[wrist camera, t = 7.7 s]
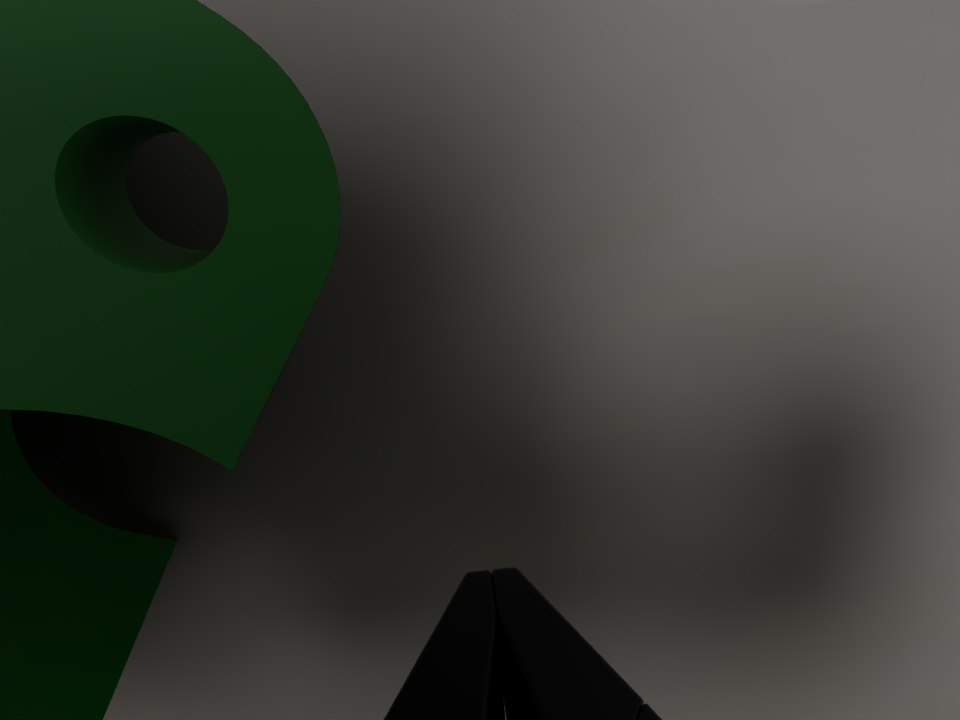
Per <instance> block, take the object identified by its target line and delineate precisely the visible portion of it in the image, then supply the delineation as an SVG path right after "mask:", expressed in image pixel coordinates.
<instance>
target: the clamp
mask: <svg viewBox="0 0 960 720" xmlns="http://www.w3.org/2000/svg"><path fill="white" fill-rule="evenodd" d="M179 131H180V132H182V133H184V134H185V135H186V136H188V137H189V138H190V139H192V140H193V141H194V142H195V143H196V144H198V145H199V146H200V147H201V148H202V149H203V150H204V152H205V153H206V154H207V155H208V156H209V158H210V159H211V160H212V162H213V163H214V165H215V166H216V168H217V169H218V171H219V173H220V175H221V177H222V180H223V182H224V185H225V188H226V192H227V197H228V207H229V212H228V221H227V226H226V229H225V232H224V234H223V237H222V239H221V240H220V242H219V244H218V245H217V247H216V248H213V249H207V250H193V249H186V248H182V247H178V246H175V245H173V244H170V243H168V242H166V241H164V240H163V239H161V238H159V237H158V236H156V235H155V234H154V233H153V232H151V231H150V230H149V229H148V228H147V227H146V226H145V225H144V224H143V223H142V222H141V220H140V219H139V218H138V216H137V215H136V213H135V211H134V210H133V208H132V206H131V203H130V201H129V198H128V194H127V188H126V173H127V168H128V165H129V162H130V160H131V158H132V156H133V154H134V153H135V152H136V150H137V149H138V148H139V147H140V146H141V145H142V144H143V143H144V142H146V141H147V140H149V139H151V138H152V137H155V136H157V135H160V134H163V133H168V132H179ZM339 229H340V195H339V188H338V181H337V176H336V171H335V167H334V163H333V159H332V156H331V153H330V150H329V147H328V144H327V142H326V139H325V137H324V134H323V132H322V130H321V128H320V126H319V123H318V121H317V119H316V118H315V116H314V114H313V112H312V111H311V109H310V107H309V105H308V103H307V102H306V100H305V99H304V97H303V96H302V94H301V93H300V92H299V90H298V89H297V87H296V86H295V84H294V83H293V82H292V80H291V79H290V78H289V77H288V76H287V74H286V73H285V72H284V71H283V70H282V68H281V67H280V66H279V65H278V64H277V63H276V62H275V61H274V60H273V59H272V58H271V57H270V56H269V55H268V54H267V53H266V52H265V51H264V50H263V49H262V48H261V47H260V46H259V45H258V44H257V43H256V42H254V41H253V40H252V39H251V38H250V37H249V36H247V35H246V34H245V33H244V32H243V31H241V30H240V29H239V28H237V27H236V26H234V25H233V24H231V23H230V22H229V21H227V20H226V19H224V18H223V17H222V16H220V15H218V14H217V13H215V12H214V11H212V10H211V9H209V8H208V7H206V6H204V5H203V4H201V3H200V2H198V1H197V0H0V720H103V718H104V715H105V713H106V710H107V708H108V706H109V703H110V701H111V698H112V696H113V694H114V691H115V689H116V686H117V684H118V681H119V679H120V677H121V674H122V672H123V669H124V667H125V664H126V662H127V660H128V657H129V655H130V652H131V650H132V648H133V645H134V643H135V640H136V638H137V635H138V633H139V631H140V628H141V626H142V623H143V621H144V618H145V616H146V614H147V611H148V609H149V606H150V604H151V602H152V599H153V597H154V594H155V592H156V589H157V587H158V585H159V582H160V580H161V577H162V575H163V573H164V570H165V568H166V565H167V563H168V560H169V558H170V556H171V553H172V551H173V548H174V546H175V543H176V541H177V540H172V539H165V538H160V537H156V536H151V535H143V534H137V533H132V532H128V531H124V530H120V529H116V528H114V527H111V526H108V525H105V524H102V523H100V522H98V521H95V520H93V519H91V518H89V517H87V516H85V515H83V514H81V513H79V512H78V511H76V510H74V509H73V508H71V507H70V506H68V505H67V504H65V503H64V502H62V501H61V500H60V499H59V498H57V497H56V496H55V495H54V494H53V493H52V492H50V491H49V490H48V489H47V488H46V487H45V486H44V485H43V484H42V482H41V481H40V480H39V479H38V478H37V477H36V475H35V474H34V473H33V471H32V470H31V469H30V467H29V466H28V464H27V462H26V461H25V459H24V457H23V456H22V453H21V451H20V449H19V446H18V444H17V442H16V438H15V435H14V431H13V427H12V420H11V410H34V411H49V412H57V413H66V414H75V415H82V416H87V417H92V418H97V419H102V420H107V421H112V422H117V423H121V424H124V425H128V426H131V427H135V428H138V429H142V430H145V431H149V432H152V433H154V434H157V435H160V436H162V437H165V438H168V439H170V440H173V441H175V442H178V443H181V444H183V445H185V446H187V447H189V448H191V449H193V450H195V451H197V452H199V453H201V454H203V455H205V456H207V457H209V458H211V459H212V460H214V461H216V462H217V463H219V464H221V465H222V466H224V467H225V468H227V469H229V470H230V471H233V469H234V467H235V465H236V463H237V461H238V458H239V456H240V454H241V452H242V450H243V448H244V446H245V444H246V442H247V440H248V438H249V436H250V434H251V432H252V430H253V428H254V426H255V424H256V422H257V420H258V418H259V416H260V414H261V412H262V410H263V408H264V406H265V404H266V401H267V399H268V397H269V395H270V393H271V391H272V389H273V387H274V385H275V383H276V381H277V379H278V377H279V375H280V373H281V371H282V369H283V367H284V365H285V363H286V361H287V359H288V357H289V355H290V353H291V351H292V349H293V347H294V344H295V342H296V340H297V338H298V336H299V334H300V332H301V330H302V328H303V326H304V324H305V322H306V320H307V318H308V316H309V314H310V312H311V310H312V308H313V306H314V304H315V302H316V300H317V298H318V296H319V294H320V292H321V289H322V287H323V285H324V283H325V281H326V279H327V276H328V274H329V272H330V269H331V266H332V263H333V260H334V256H335V253H336V249H337V243H338V238H339Z"/></svg>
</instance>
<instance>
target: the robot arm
mask: <svg viewBox="0 0 960 720" xmlns="http://www.w3.org/2000/svg"><path fill="white" fill-rule="evenodd" d="M503 697H504V698H503ZM504 706H505V710H504ZM505 713H506V720H662V719H661V718H660V717H659V716H658V715H657V714H656V713H655V712H654V711H653V709H652V708H651V707H650V706H649V705H648V704H644V701H643V700H642V698H641V697H640V696H639V695H638V694H637V693H636V692H635V691H634V690H633V689H632V688H631V687H630V686H629V685H628V684H627V683H626V682H625V681H624V680H623V678H622V677H621V676H620V675H619V674H618V673H617V672H616V671H615V670H614V669H613V668H612V667H611V666H610V665H609V664H608V663H607V662H606V661H605V660H604V659H603V658H602V657H601V656H600V655H599V654H598V652H597V651H596V650H595V649H594V648H593V647H592V646H591V645H590V644H589V643H588V642H587V641H586V640H585V639H584V638H583V637H582V636H581V635H580V634H579V633H578V632H577V631H576V630H575V629H574V627H573V626H572V625H571V624H570V623H569V622H568V621H567V620H566V619H565V618H564V617H563V616H562V615H561V614H560V613H559V612H558V611H557V610H556V609H555V608H554V607H553V606H552V605H551V604H550V602H549V601H548V600H547V599H546V598H545V597H544V596H543V595H542V594H541V593H540V592H539V591H538V590H537V589H536V588H535V587H534V586H533V585H532V584H531V583H530V582H529V581H528V580H527V579H526V577H525V576H524V575H523V574H522V573H521V572H520V571H519V570H518V569H516V568H514V567H512V568H503V569H495V570H493V571H492V575H491V573H490V571H488V570H484V571H474V572H468V573H466V574H465V576H464V577H463V579H462V581H461V583H460V584H459V586H458V588H457V590H456V592H455V593H454V595H453V597H452V599H451V601H450V602H449V604H448V606H447V608H446V609H445V611H444V613H443V615H442V617H441V618H440V620H439V622H438V624H437V625H436V627H435V629H434V631H433V633H432V634H431V636H430V638H429V640H428V642H427V643H426V645H425V647H424V649H423V650H422V652H421V654H420V656H419V658H418V659H417V661H416V663H415V665H414V666H413V668H412V670H411V672H410V674H409V675H408V677H407V679H406V681H405V682H404V684H403V686H402V688H401V690H400V691H399V693H398V695H397V697H396V699H395V700H394V702H393V704H392V706H391V707H390V709H389V711H388V713H387V715H386V716H385V718H384V720H505Z"/></svg>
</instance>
